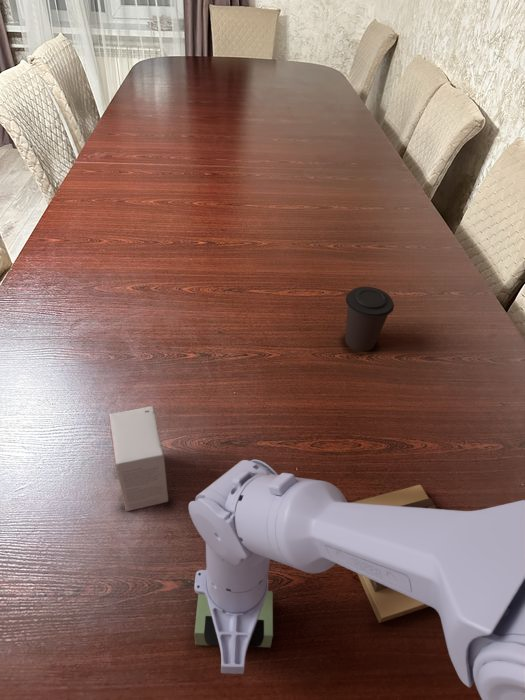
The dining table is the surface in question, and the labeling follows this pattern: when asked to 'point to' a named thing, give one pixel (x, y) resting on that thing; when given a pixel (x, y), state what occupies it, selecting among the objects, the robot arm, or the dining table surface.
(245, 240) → the dining table surface
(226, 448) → the dining table surface
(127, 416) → the small box
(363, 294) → the coffee cup
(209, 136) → the dining table surface
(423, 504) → the wooden base with frame
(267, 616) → the green rectangular block
